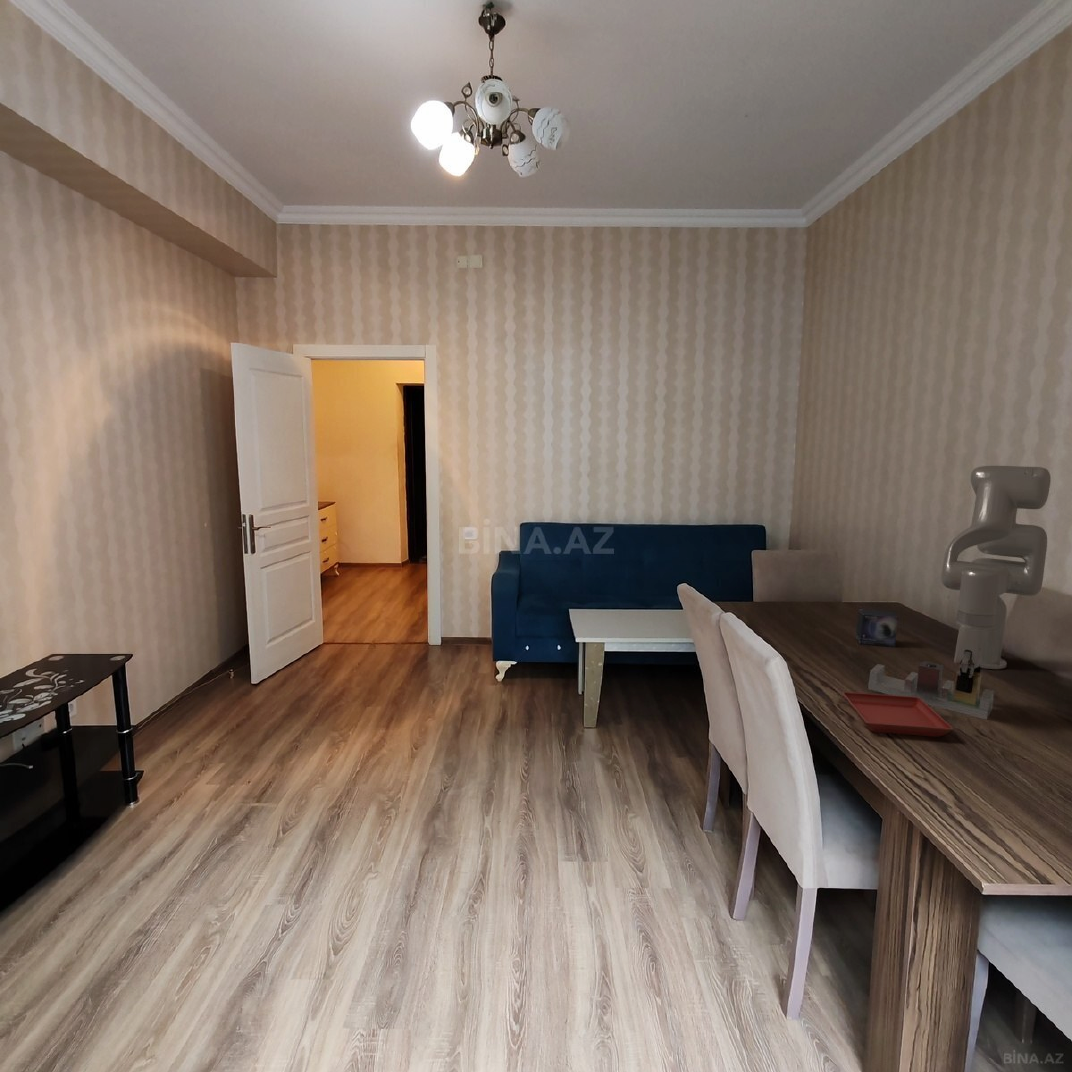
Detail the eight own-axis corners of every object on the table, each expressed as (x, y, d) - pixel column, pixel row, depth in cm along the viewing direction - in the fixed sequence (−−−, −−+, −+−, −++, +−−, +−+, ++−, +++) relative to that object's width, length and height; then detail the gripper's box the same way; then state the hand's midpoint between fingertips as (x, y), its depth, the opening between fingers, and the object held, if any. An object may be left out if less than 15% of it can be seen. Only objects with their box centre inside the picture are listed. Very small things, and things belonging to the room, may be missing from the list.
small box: (859, 645, 200) (862, 614, 199) (854, 639, 206) (857, 608, 205) (895, 648, 198) (899, 616, 196) (889, 641, 204) (892, 611, 202)
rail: (876, 680, 170) (878, 663, 170) (992, 709, 153) (994, 690, 152) (867, 689, 165) (869, 671, 164) (986, 719, 147) (989, 699, 146)
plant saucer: (840, 703, 157) (841, 690, 156) (917, 708, 154) (919, 696, 153) (865, 736, 139) (866, 722, 139) (953, 743, 136) (954, 729, 136)
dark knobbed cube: (920, 686, 161) (923, 660, 160) (940, 691, 158) (943, 664, 157) (916, 691, 158) (919, 664, 157) (936, 696, 155) (939, 669, 154)
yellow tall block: (957, 694, 156) (960, 667, 155) (978, 700, 153) (981, 672, 152) (953, 700, 153) (956, 672, 152) (975, 705, 150) (978, 677, 149)
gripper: (963, 609, 158) (956, 672, 161) (949, 623, 146) (942, 691, 149) (1000, 615, 153) (991, 680, 156) (988, 630, 141) (979, 700, 143)
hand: (967, 685), depth 152 cm, fingers open, 9 cm apart
